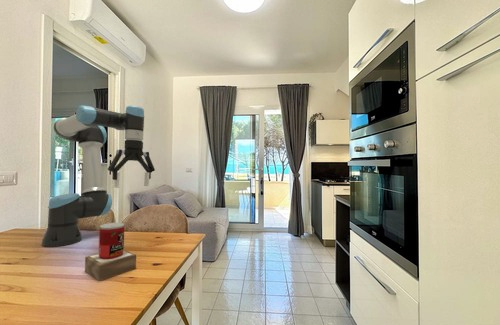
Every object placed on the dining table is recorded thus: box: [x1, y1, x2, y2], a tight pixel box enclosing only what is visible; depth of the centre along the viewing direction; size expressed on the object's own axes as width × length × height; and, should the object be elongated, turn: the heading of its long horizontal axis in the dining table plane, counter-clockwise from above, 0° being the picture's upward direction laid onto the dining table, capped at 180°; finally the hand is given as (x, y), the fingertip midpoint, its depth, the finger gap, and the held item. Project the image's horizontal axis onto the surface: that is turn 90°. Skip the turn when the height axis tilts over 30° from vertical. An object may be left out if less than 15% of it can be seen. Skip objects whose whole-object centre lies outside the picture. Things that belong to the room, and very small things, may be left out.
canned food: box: [98, 222, 125, 259], centre depth 82 cm, size 8×8×11 cm
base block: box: [84, 249, 137, 282], centre depth 82 cm, size 12×12×5 cm
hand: (132, 186), depth 102 cm, fingers open, 13 cm apart
